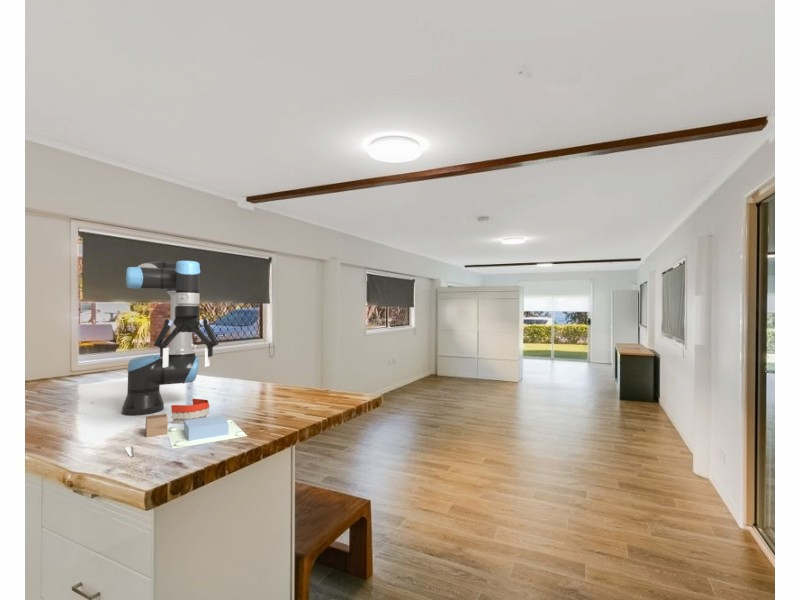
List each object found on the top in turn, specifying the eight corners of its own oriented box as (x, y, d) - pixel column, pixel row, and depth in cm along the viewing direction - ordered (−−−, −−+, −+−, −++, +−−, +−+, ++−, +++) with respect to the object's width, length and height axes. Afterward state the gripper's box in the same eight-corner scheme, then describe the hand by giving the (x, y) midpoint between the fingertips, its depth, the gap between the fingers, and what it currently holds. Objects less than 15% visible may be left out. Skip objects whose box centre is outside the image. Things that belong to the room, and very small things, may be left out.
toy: (194, 429, 147) (194, 407, 148) (169, 427, 149) (170, 405, 150) (216, 420, 160) (216, 399, 160) (193, 418, 162) (193, 398, 162)
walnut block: (145, 436, 139) (145, 416, 139) (165, 433, 142) (166, 413, 142) (146, 441, 134) (146, 420, 134) (167, 438, 137) (167, 417, 138)
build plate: (165, 433, 141) (166, 427, 142) (232, 424, 154) (232, 418, 154) (172, 452, 123) (172, 445, 123) (247, 439, 136) (247, 432, 136)
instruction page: (124, 448, 127) (124, 447, 127) (149, 443, 131) (149, 442, 131) (130, 457, 119) (130, 456, 119) (157, 451, 124) (157, 450, 124)
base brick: (183, 431, 140) (184, 420, 140) (221, 426, 147) (221, 415, 147) (188, 441, 130) (188, 428, 130) (228, 434, 137) (228, 422, 137)
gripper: (143, 305, 135) (142, 368, 135) (221, 305, 139) (221, 367, 138) (154, 305, 143) (152, 365, 142) (228, 305, 146) (227, 364, 146)
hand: (186, 366), depth 140 cm, fingers open, 13 cm apart
